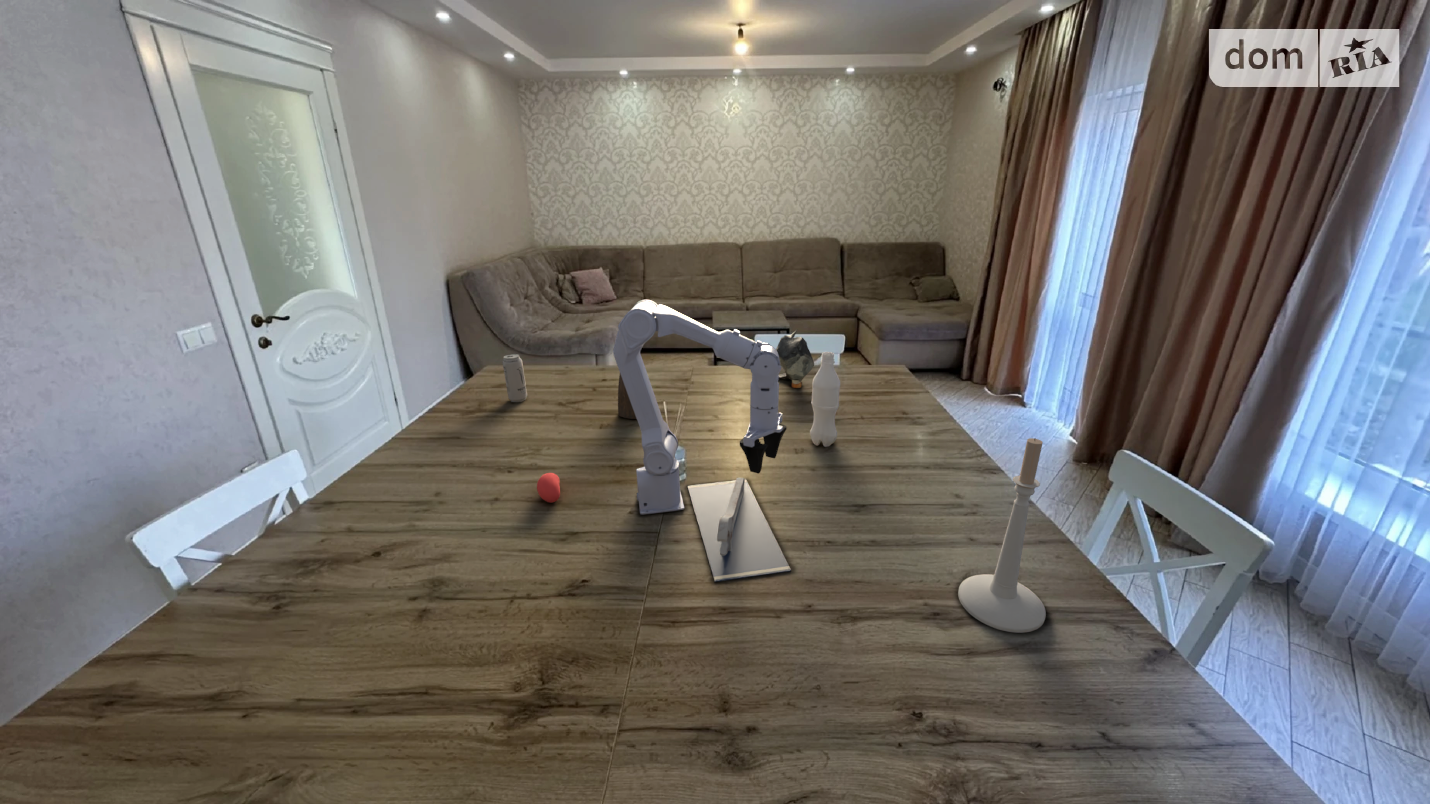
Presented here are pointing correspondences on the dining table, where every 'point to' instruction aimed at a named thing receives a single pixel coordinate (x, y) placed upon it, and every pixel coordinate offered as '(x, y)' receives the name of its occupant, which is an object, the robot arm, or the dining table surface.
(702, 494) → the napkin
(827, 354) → the water bottle
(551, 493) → the stress ball
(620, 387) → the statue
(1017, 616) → the candlestick
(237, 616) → the dining table surface
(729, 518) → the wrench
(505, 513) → the dining table surface
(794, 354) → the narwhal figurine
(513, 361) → the energy drink can
